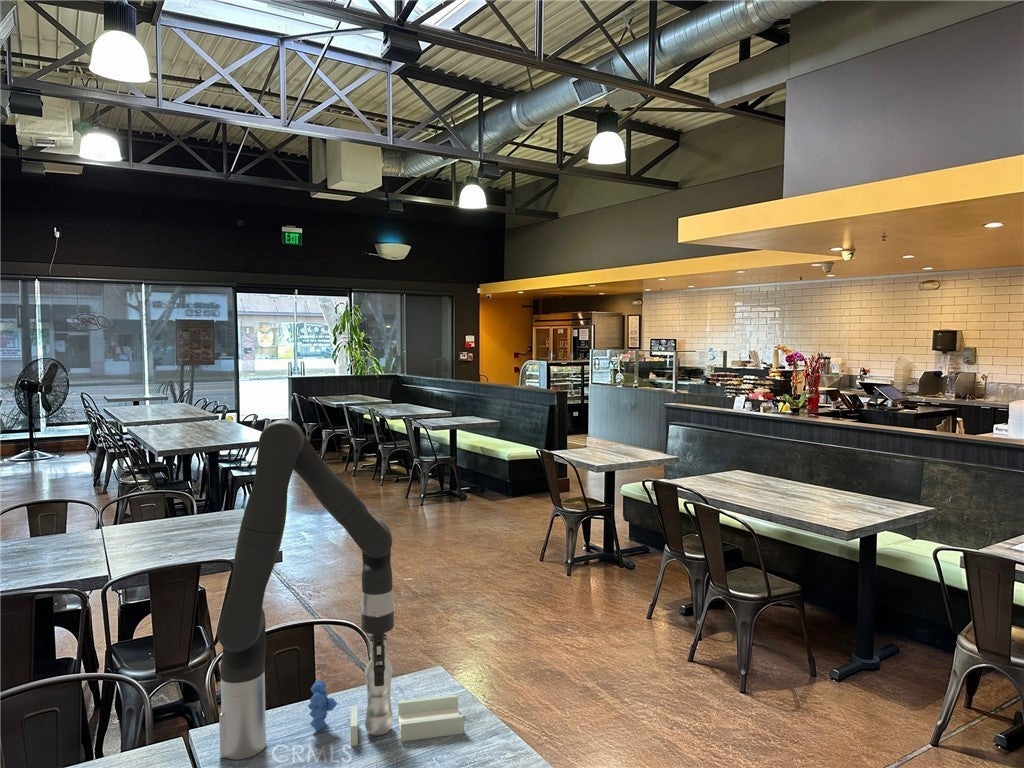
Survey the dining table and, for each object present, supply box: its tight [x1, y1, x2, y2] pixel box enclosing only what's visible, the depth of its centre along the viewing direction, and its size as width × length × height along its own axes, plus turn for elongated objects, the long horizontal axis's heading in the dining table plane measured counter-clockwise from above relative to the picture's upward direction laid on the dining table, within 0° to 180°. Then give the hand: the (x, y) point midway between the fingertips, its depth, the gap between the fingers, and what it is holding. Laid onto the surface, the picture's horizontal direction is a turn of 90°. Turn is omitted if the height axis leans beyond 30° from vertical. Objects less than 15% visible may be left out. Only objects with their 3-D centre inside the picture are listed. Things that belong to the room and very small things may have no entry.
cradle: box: [397, 694, 465, 742], centre depth 163 cm, size 14×11×4 cm
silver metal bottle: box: [364, 648, 394, 736], centre depth 160 cm, size 6×7×20 cm
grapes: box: [307, 679, 338, 732], centre depth 161 cm, size 12×7×12 cm, turn 11°
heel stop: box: [350, 705, 359, 746], centre depth 159 cm, size 2×9×4 cm, turn 13°
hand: (378, 677), depth 160 cm, fingers open, 7 cm apart
